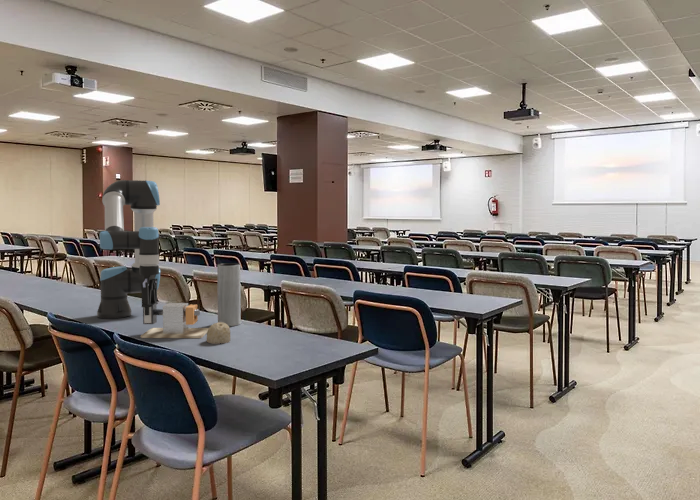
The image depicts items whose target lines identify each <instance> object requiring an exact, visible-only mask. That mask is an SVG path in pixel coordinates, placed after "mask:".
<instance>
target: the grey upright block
mask: <svg viewBox="0 0 700 500" xmlns="http://www.w3.org/2000/svg"><path fill="white" fill-rule="evenodd" d="M187 306H189V302H168V303H166V304H164V305H163V306H162V309H163V315H162V328H163V334H184V333H185V332H186V331H187V330H188V328H189V325H186V315H185V310H186V307H187Z"/></svg>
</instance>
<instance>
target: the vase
mask: <svg viewBox="0 0 700 500" xmlns="http://www.w3.org/2000/svg"><path fill="white" fill-rule="evenodd" d="M216 266H217V267H216V268H217V273H216V275H217V323H219V322H224V323H226V324H227V325H228V326H229V327H235V326H239V325H241V321H242V319H241V315H242V312H241V264H240V263H234V262H233V263H232V262H231V263H227V262H226V263H225V262H224V263H218V264H217V265H216Z"/></svg>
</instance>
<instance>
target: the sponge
mask: <svg viewBox="0 0 700 500" xmlns="http://www.w3.org/2000/svg"><path fill="white" fill-rule="evenodd" d="M230 327H231V326H228V325H227V324H226V323H224V322H219V323H218V322H214V323H213V324H211V325H210V326H209V327H208V328H209V329H208V332H207V333H206V342H207V343H208V344H211V345H212V344H213V345H220V343H221V344H228V343H230V342H231V330H230V329H231V328H230Z"/></svg>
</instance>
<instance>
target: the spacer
mask: <svg viewBox="0 0 700 500" xmlns="http://www.w3.org/2000/svg"><path fill="white" fill-rule="evenodd" d="M194 310H198V304H188V306H187V307H186V325H188V326H189V325H191V326H193V325H195V324H197V323H198V321H199V320H198V316H199V315H194Z"/></svg>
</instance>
